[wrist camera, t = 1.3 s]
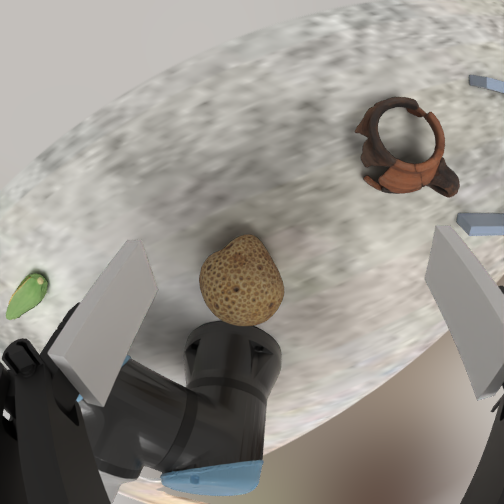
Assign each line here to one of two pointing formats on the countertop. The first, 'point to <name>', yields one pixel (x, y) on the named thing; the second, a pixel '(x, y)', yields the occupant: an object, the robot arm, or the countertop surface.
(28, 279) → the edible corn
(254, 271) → the natural sponge
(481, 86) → the blue-grey u-shaped frame
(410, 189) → the brown curved ring piece
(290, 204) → the countertop surface
